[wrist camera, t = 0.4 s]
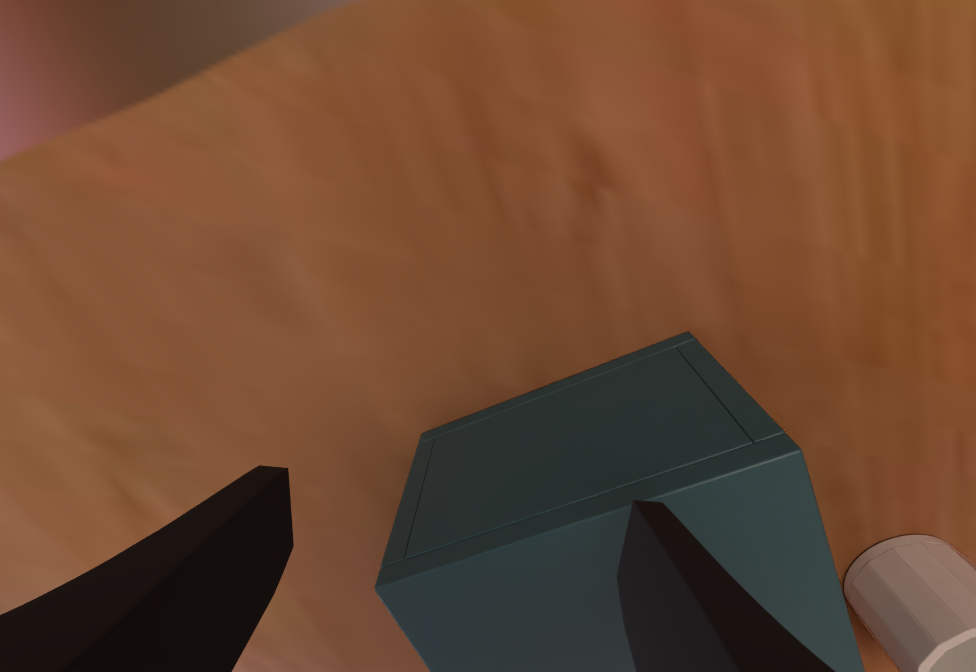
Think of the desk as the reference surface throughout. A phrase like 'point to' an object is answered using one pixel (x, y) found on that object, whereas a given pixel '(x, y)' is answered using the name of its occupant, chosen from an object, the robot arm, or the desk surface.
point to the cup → (917, 603)
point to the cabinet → (602, 517)
